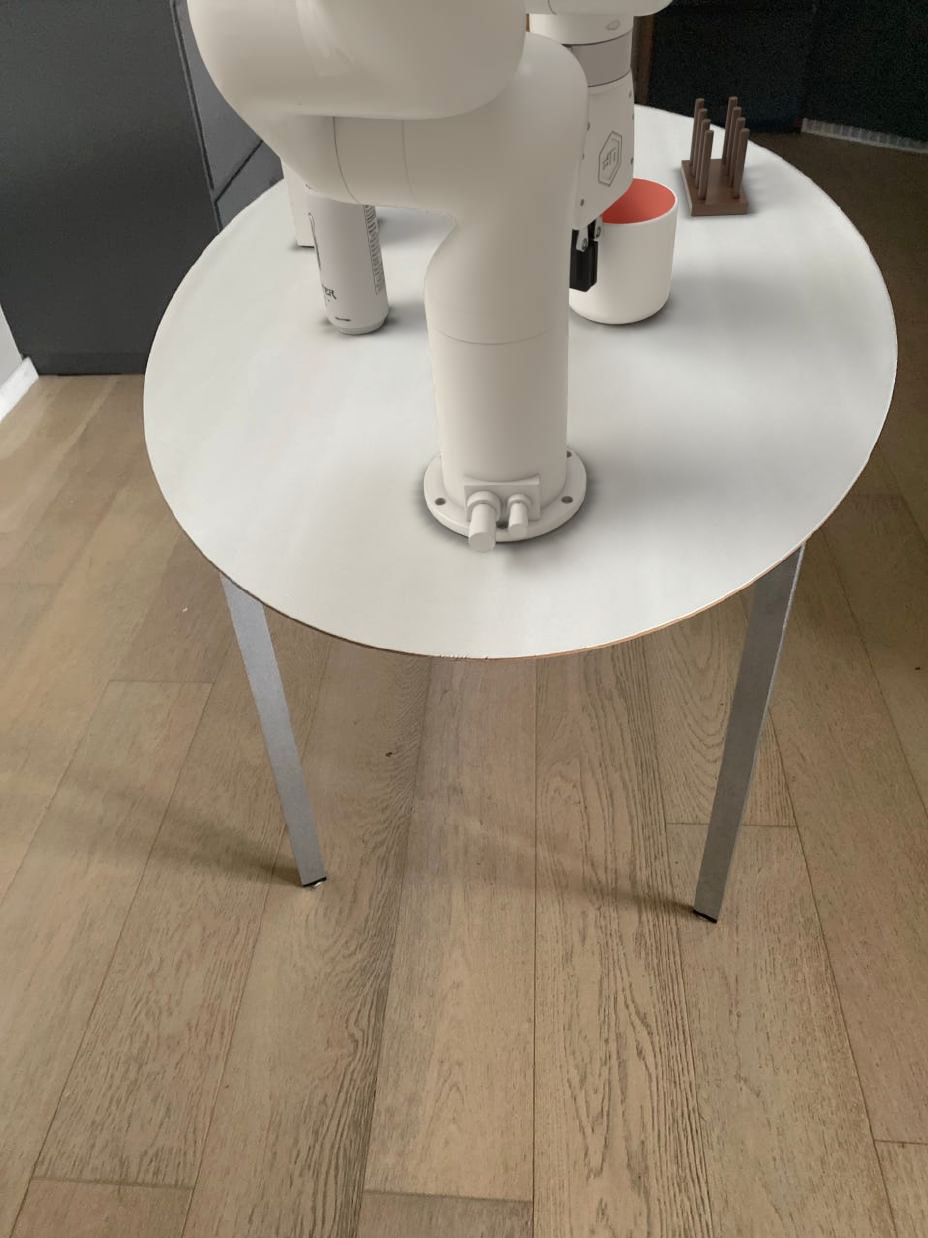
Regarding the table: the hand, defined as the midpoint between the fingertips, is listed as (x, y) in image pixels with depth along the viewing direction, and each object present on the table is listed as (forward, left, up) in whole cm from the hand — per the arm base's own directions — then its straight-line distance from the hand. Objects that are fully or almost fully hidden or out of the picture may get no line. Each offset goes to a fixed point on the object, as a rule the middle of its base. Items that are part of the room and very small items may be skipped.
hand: (576, 284), depth 84 cm
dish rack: (+31, -16, -6) cm, 35 cm away
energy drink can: (+5, +21, -6) cm, 22 cm away
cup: (+7, -4, -6) cm, 10 cm away
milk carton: (+24, +26, -6) cm, 36 cm away
